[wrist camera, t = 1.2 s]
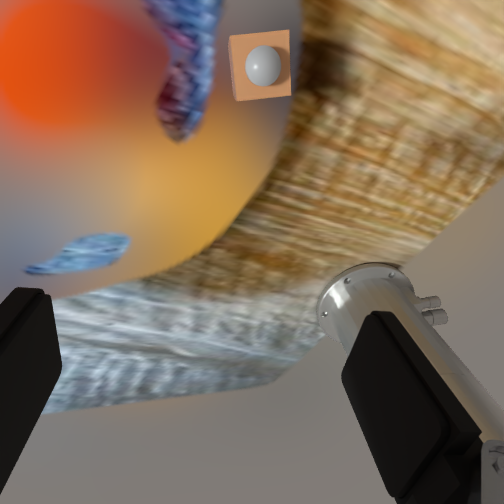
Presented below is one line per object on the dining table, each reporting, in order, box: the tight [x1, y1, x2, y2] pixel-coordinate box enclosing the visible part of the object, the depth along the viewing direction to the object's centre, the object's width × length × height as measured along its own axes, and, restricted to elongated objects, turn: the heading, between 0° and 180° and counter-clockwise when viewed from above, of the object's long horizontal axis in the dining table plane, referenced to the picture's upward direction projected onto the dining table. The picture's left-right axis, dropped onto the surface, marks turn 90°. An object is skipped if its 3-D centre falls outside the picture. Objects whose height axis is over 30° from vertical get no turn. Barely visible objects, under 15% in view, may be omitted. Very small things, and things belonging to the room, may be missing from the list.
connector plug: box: [228, 30, 291, 101], centre depth 25 cm, size 4×4×8 cm
